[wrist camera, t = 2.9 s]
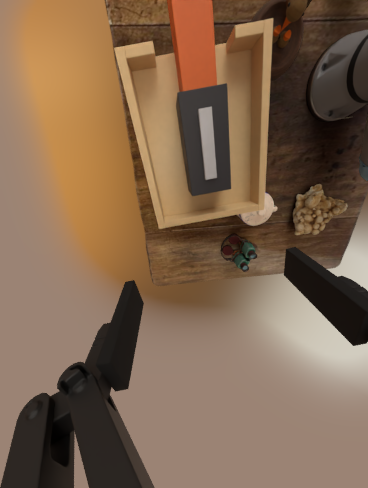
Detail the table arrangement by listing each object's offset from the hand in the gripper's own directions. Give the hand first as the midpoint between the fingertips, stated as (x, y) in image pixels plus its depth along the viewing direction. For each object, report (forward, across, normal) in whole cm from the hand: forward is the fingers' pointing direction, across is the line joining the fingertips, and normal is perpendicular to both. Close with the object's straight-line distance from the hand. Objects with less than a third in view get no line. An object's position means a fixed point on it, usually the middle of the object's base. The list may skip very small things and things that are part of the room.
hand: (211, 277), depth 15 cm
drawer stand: (+39, +2, +10) cm, 41 cm away
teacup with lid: (+40, +19, -7) cm, 45 cm away
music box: (+40, +19, +23) cm, 49 cm away
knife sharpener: (+11, +3, +17) cm, 21 cm away
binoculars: (+40, +13, -20) cm, 46 cm away
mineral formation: (+40, +37, -13) cm, 56 cm away
